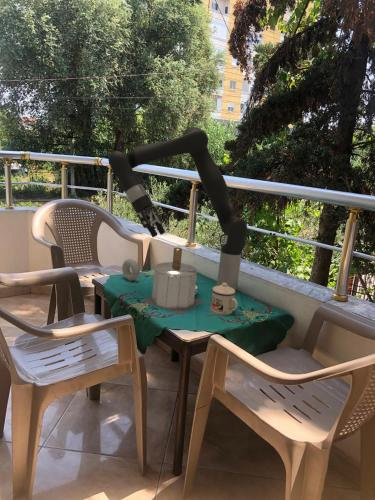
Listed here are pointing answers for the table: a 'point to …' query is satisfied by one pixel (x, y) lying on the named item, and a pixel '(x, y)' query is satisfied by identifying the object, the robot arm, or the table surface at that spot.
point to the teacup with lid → (223, 299)
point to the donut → (126, 269)
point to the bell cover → (174, 283)
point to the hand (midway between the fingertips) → (159, 234)
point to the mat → (181, 311)
